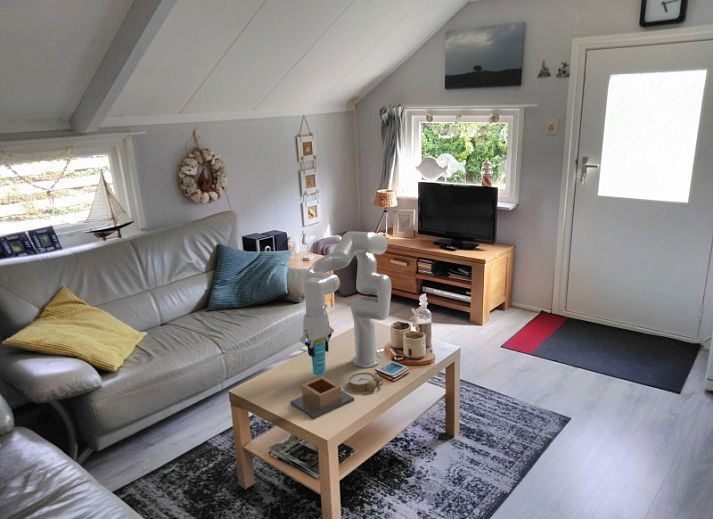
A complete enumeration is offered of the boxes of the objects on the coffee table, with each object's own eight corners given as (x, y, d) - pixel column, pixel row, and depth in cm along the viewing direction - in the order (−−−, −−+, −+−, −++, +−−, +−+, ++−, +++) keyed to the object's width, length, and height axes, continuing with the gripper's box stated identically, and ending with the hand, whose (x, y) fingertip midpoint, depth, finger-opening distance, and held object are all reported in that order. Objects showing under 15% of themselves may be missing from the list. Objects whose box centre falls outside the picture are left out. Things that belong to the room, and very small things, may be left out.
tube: (314, 377, 215) (311, 331, 210) (308, 373, 219) (305, 328, 214) (330, 372, 219) (328, 327, 213) (324, 367, 222) (321, 323, 217)
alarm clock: (354, 371, 241) (386, 370, 234) (356, 381, 242) (388, 381, 235) (343, 383, 231) (376, 383, 224) (346, 394, 232) (378, 394, 225)
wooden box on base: (330, 386, 234) (329, 371, 232) (354, 400, 222) (353, 384, 220) (290, 403, 222) (289, 387, 220) (313, 419, 210) (312, 402, 208)
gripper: (327, 302, 220) (330, 344, 224) (291, 313, 209) (294, 357, 214) (339, 306, 214) (341, 349, 219) (302, 318, 203) (305, 363, 208)
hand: (318, 352), depth 216 cm, fingers closed on tube, 6 cm apart
